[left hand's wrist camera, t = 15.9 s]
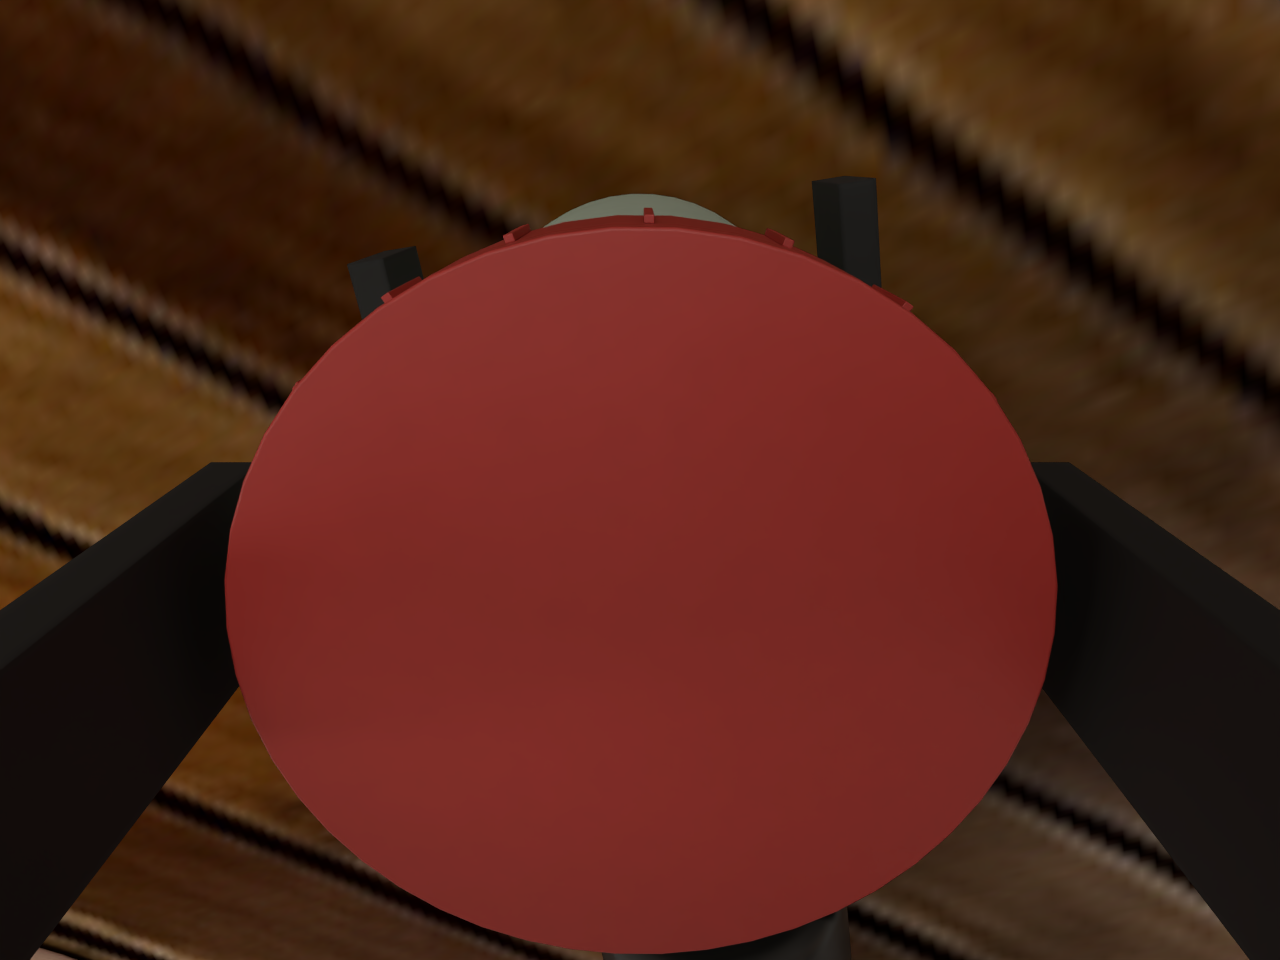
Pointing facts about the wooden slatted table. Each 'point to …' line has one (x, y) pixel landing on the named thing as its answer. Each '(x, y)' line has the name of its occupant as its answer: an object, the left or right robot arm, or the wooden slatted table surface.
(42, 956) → the anatomical model
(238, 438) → the wooden slatted table surface
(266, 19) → the wooden slatted table surface
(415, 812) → the lid
